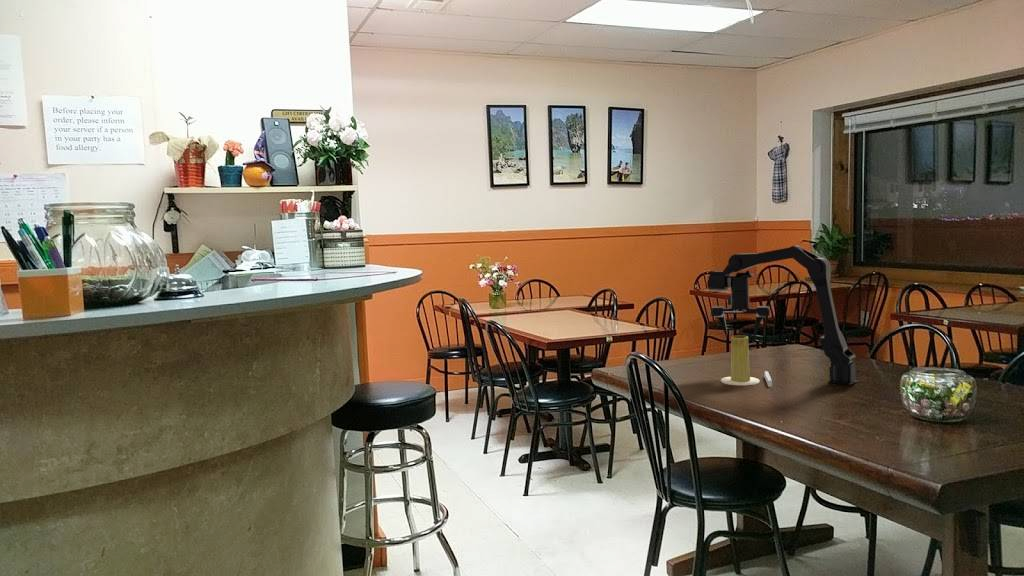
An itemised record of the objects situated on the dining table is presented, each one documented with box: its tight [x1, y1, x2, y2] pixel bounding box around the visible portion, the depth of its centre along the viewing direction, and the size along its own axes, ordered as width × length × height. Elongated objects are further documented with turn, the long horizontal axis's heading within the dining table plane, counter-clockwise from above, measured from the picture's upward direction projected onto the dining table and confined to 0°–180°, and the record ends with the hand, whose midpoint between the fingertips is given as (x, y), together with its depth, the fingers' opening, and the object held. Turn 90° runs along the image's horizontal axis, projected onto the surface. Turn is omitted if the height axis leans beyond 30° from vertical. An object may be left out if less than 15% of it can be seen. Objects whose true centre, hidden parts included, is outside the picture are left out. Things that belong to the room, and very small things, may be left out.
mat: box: [720, 375, 760, 387], centre depth 226 cm, size 12×12×1 cm
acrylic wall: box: [764, 370, 773, 388], centre depth 223 cm, size 14×1×2 cm, turn 165°
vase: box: [730, 335, 751, 382], centre depth 225 cm, size 6×6×14 cm
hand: (740, 336), depth 236 cm, fingers open, 9 cm apart
